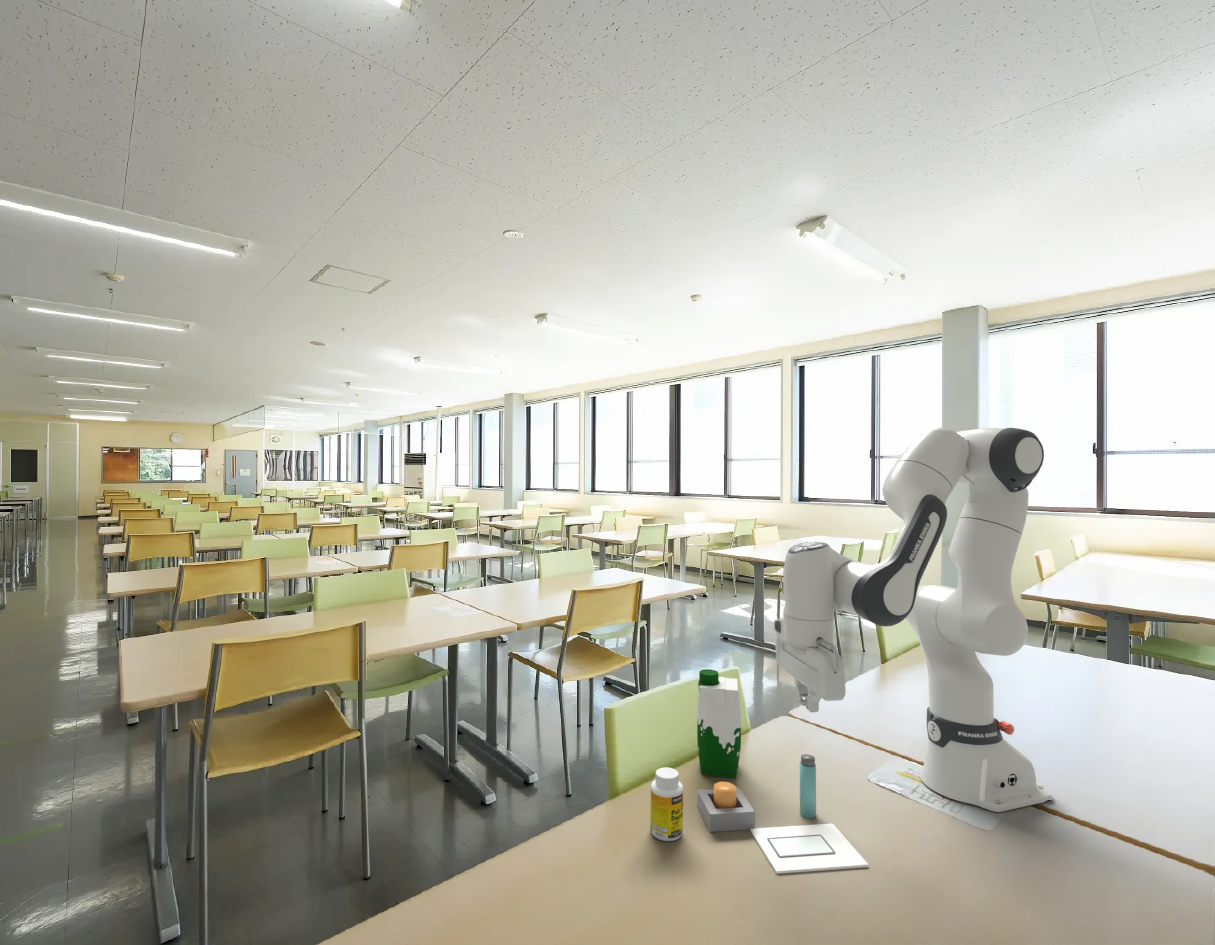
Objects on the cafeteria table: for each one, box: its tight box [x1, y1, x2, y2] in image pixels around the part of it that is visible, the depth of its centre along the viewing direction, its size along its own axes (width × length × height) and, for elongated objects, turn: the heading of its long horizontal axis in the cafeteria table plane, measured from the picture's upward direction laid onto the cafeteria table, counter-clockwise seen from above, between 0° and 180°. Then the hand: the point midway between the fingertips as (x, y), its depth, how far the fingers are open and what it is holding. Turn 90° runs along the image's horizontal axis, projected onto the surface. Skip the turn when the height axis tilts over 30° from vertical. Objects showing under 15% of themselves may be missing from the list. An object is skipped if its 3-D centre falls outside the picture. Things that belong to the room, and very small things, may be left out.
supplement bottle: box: [649, 766, 684, 842], centre depth 98 cm, size 6×6×10 cm
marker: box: [799, 753, 817, 819], centre depth 104 cm, size 3×3×10 cm
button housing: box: [696, 787, 756, 833], centre depth 103 cm, size 8×8×3 cm
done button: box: [713, 781, 738, 809], centre depth 103 cm, size 4×4×3 cm
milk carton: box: [696, 669, 742, 779], centre depth 121 cm, size 9×9×20 cm
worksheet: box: [749, 823, 869, 875], centre depth 94 cm, size 15×11×1 cm
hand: (808, 707), depth 105 cm, fingers closed
